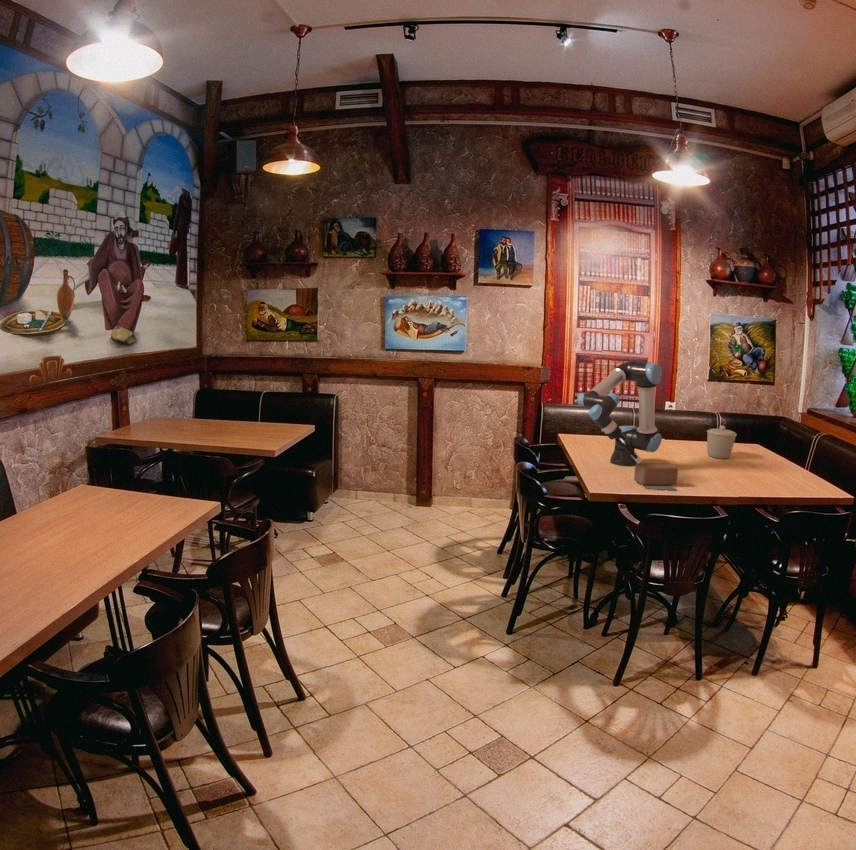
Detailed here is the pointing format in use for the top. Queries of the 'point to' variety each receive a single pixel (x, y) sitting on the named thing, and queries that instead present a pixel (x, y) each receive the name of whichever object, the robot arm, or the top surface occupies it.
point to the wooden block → (656, 474)
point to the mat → (660, 487)
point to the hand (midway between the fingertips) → (639, 461)
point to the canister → (720, 442)
